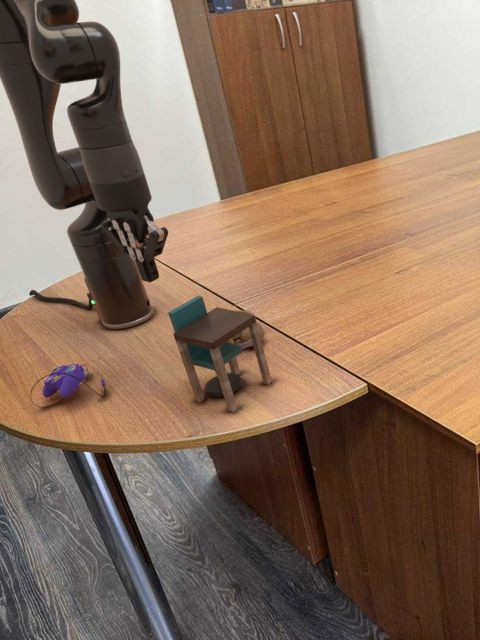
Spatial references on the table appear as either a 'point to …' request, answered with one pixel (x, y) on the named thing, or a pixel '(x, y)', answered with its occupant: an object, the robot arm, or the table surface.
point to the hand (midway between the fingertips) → (151, 279)
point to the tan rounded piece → (246, 335)
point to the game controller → (65, 381)
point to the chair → (200, 354)
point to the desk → (211, 335)
